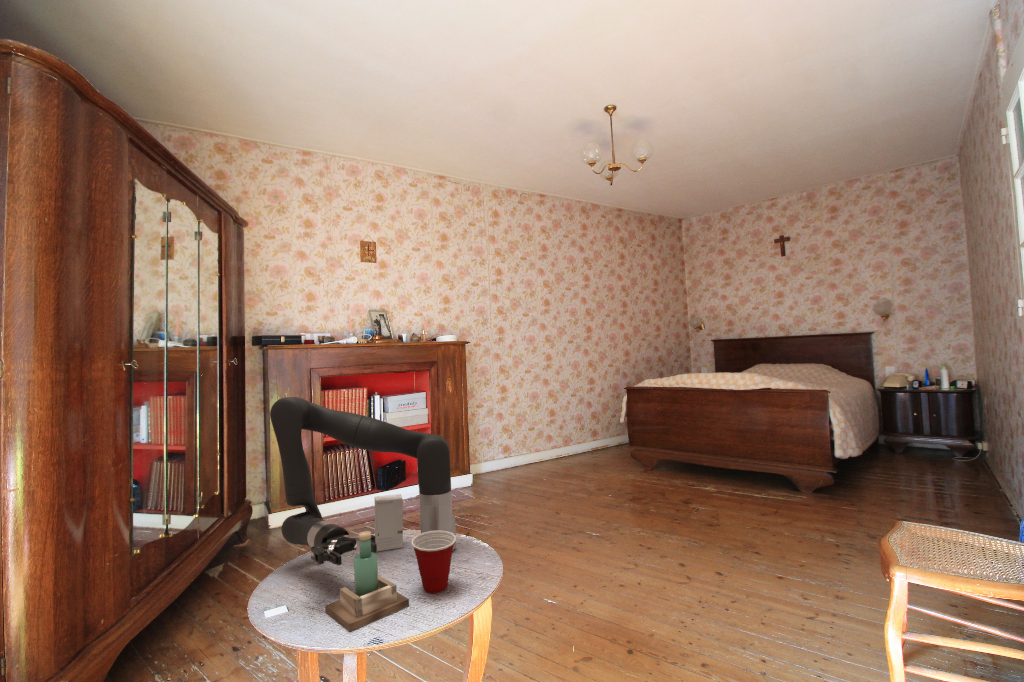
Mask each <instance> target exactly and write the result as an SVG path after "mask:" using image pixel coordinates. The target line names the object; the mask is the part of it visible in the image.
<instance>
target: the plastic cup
mask: <svg viewBox="0 0 1024 682" xmlns="http://www.w3.org/2000/svg"><path fill="white" fill-rule="evenodd" d="M455 542H456V543H457V535H456V536H455V535H454V534H453V533H451V532H448V531H441V530H438V531H429V532H424V533H421V532H420V533H419V534H417V535H416V536H414V537H413V538H412V539H411V546H412V547H413V550H414V553H415V556H416V561H417V567H418V571H419V576H420V579H421V584H422V588H423V591H424V592H425V593H427V594H439V593H441V592H442V593H443V592H444V591H446V590H447V589H448V585H449V579H450V578H449V577H450V571H451V565H452V564H451V563H452V554H453V552H454V550H453V546H454V543H455ZM452 551H453V552H452Z"/></svg>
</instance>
